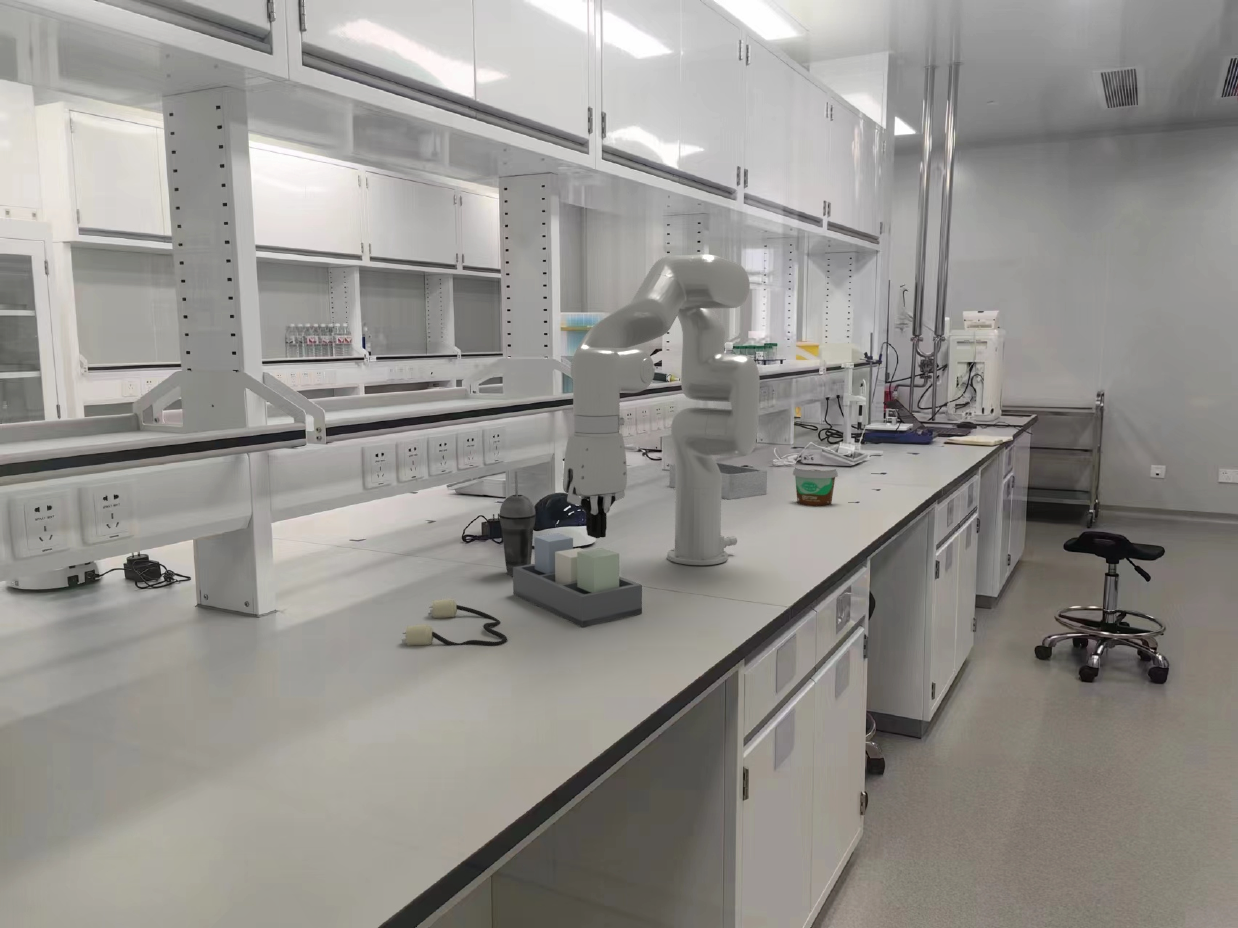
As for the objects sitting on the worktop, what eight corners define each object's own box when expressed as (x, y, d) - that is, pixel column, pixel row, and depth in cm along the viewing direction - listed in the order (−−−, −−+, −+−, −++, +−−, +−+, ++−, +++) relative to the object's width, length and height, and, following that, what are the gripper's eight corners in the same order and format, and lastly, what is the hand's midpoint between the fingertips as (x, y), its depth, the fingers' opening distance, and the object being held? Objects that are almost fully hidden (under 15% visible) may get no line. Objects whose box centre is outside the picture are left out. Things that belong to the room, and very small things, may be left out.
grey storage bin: (705, 482, 282) (706, 460, 281) (766, 494, 261) (767, 470, 260) (669, 486, 274) (669, 464, 273) (729, 499, 252) (729, 475, 251)
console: (569, 583, 165) (569, 557, 165) (642, 613, 147) (642, 584, 147) (513, 594, 158) (512, 567, 158) (582, 627, 140) (582, 597, 140)
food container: (789, 505, 243) (790, 469, 242) (791, 501, 249) (793, 466, 248) (835, 508, 240) (836, 471, 238) (836, 504, 245) (838, 468, 244)
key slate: (558, 565, 161) (558, 533, 160) (573, 570, 157) (573, 538, 156) (534, 569, 158) (534, 536, 158) (549, 575, 154) (548, 541, 154)
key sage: (602, 582, 150) (601, 547, 149) (619, 588, 146) (619, 553, 145) (577, 586, 147) (577, 551, 146) (594, 593, 143) (594, 557, 142)
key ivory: (579, 580, 156) (579, 547, 155) (595, 587, 152) (595, 553, 151) (555, 585, 153) (555, 551, 152) (570, 592, 149) (570, 557, 148)
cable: (521, 617, 147) (521, 597, 147) (502, 652, 131) (502, 630, 130) (430, 615, 148) (429, 595, 148) (400, 649, 132) (399, 627, 131)
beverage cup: (502, 579, 168) (500, 475, 166) (497, 569, 175) (495, 470, 173) (540, 576, 170) (538, 474, 168) (533, 567, 177) (532, 468, 174)
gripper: (620, 421, 150) (619, 527, 153) (544, 426, 142) (545, 537, 144) (647, 425, 144) (646, 534, 147) (569, 430, 136) (570, 546, 138)
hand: (596, 536), depth 146 cm, fingers closed
